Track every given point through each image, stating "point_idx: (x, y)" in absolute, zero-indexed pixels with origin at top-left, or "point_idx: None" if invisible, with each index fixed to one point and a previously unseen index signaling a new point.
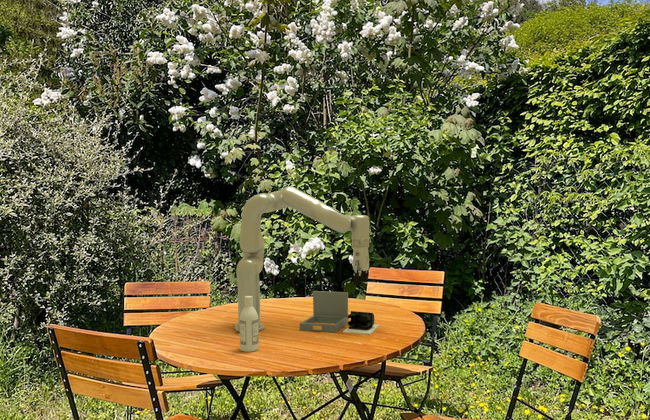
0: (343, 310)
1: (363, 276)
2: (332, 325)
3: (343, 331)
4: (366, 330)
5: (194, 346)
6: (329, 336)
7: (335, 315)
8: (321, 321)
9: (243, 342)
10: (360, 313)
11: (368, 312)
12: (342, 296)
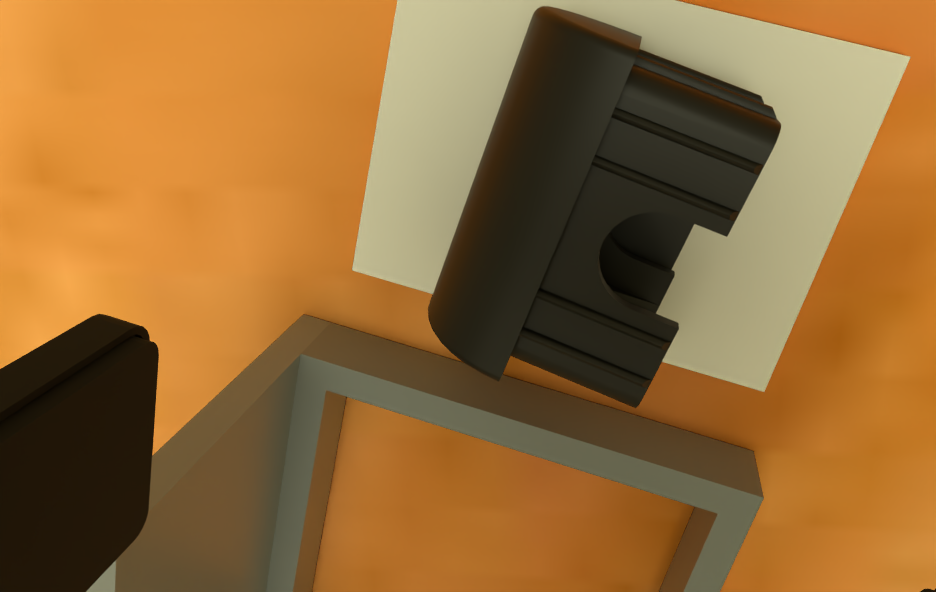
0: (260, 435)
1: (8, 550)
2: (747, 529)
3: (766, 384)
4: None
5: None
6: (927, 518)
7: (277, 481)
8: (313, 563)
9: None
10: (562, 239)
11: (595, 115)
12: (153, 566)
